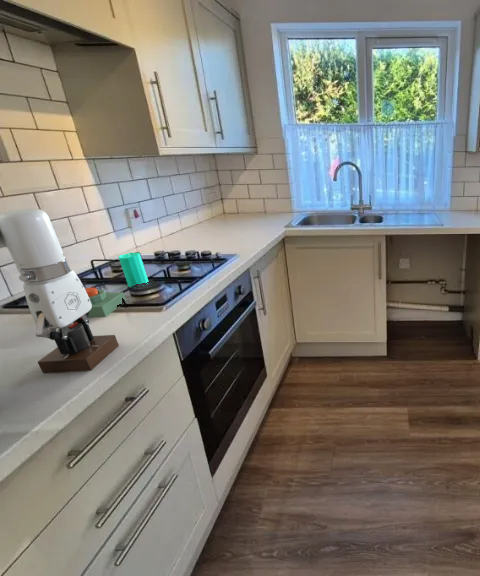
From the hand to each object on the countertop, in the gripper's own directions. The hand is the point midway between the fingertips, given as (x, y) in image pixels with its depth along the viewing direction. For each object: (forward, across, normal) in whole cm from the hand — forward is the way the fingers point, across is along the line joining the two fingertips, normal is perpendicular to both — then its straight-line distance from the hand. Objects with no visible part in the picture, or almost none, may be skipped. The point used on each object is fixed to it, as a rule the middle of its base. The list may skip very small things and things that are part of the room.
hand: (78, 346), depth 81 cm
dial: (0, 0, 0) cm, 0 cm away
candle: (+4, +45, +13) cm, 47 cm away
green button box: (+3, +26, +14) cm, 30 cm away
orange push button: (-1, +26, +14) cm, 30 cm away
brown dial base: (+3, 0, 0) cm, 3 cm away
